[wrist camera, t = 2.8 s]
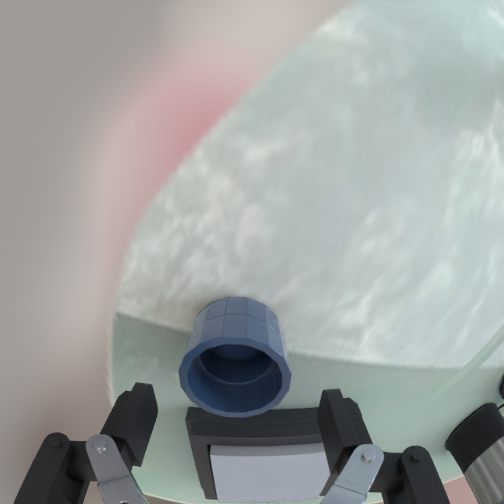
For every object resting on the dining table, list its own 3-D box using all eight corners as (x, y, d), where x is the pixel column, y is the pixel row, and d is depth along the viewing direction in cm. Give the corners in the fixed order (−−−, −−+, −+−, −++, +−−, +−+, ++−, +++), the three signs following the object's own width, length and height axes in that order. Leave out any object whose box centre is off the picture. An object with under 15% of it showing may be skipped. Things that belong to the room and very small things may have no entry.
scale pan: (218, 491, 21) (218, 501, 19) (211, 442, 18) (209, 455, 17) (316, 488, 21) (318, 498, 20) (338, 437, 18) (341, 449, 17)
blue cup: (197, 364, 19) (185, 414, 14) (191, 292, 17) (172, 333, 13) (277, 366, 19) (285, 417, 14) (283, 294, 18) (296, 337, 13)
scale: (202, 478, 24) (200, 498, 21) (188, 406, 20) (182, 433, 17) (327, 474, 24) (332, 494, 21) (357, 402, 20) (367, 427, 17)
